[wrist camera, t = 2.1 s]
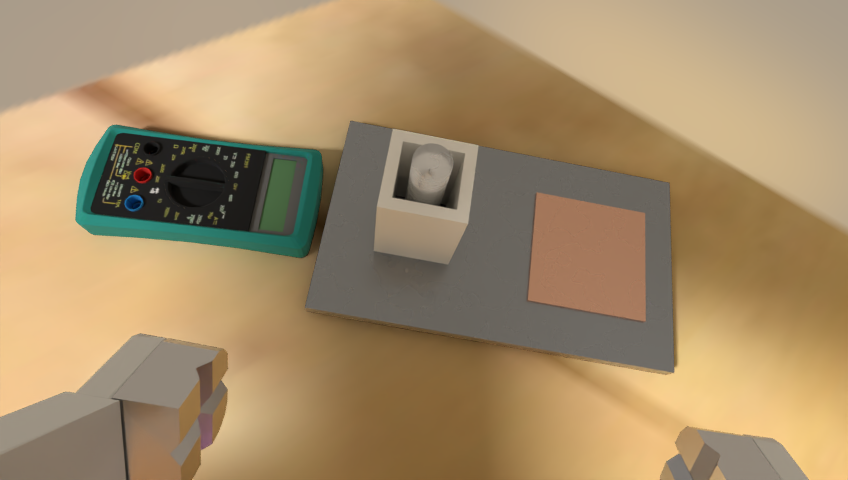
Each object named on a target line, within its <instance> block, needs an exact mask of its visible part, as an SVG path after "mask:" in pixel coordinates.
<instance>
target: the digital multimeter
mask: <svg viewBox="0 0 848 480" xmlns="http://www.w3.org/2000/svg"><path fill="white" fill-rule="evenodd" d="M322 180H323V163H322V156H321V153H320V152H319V151H317V150H313V149H301V148H288V147H275V146H263V145H252V144H243V143H234V142H225V141H216V140H207V139H201V138H194V137H188V136H181V135H175V134H168V133H162V132H155V131H150V130H144V129H138V128H133V127H127V126H121V125H112V126H110V127H109V128H108V129H107V130H106V132H105V133H104V135H103V136H102V138H101V139H100V141H99V142H98V144H97V145H96V147H95V148H94V150H93V152H92V154H91V155H90V157H89V159H88V161H87V162H86V165H85V168H84V171H83V173H82V176H81V179H80V184H79V190H78V195H77V205H76V219H75V220H76V222H77V223H78V224H79V225H81V226H82V227H83V228H84V229H86V230H87V231H88V232H89V233H91V234H93V235H105V236H121V237H137V238H149V239H161V240H172V241H184V242H194V243H202V244H210V245H218V246H226V247H234V248H241V249H248V250H254V251H260V252H267V253H273V254H279V255H285V256H292V257H298V258H302V257H305V256H306V255H308V252H309V250H310V246H311V242H312V239H313V235H314V231H315V226H316V222H317V218H318V212H319V206H320V200H321V191H322ZM165 189H166V190H165ZM108 215H109V216H108ZM117 216H118V217H117ZM125 217H127V218H125ZM134 218H135V219H134ZM152 220H153V221H152ZM160 221H162V222H160ZM169 222H170V223H169ZM178 223H179V224H178ZM187 224H188V225H187ZM196 225H197V226H196ZM204 226H205V227H204ZM213 227H214V228H213ZM222 228H223V229H222ZM231 229H232V230H231ZM239 230H240V231H239Z"/></svg>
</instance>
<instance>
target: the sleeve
mask: <svg viewBox="0 0 848 480" xmlns="http://www.w3.org/2000/svg"><path fill="white" fill-rule="evenodd" d="M429 143H434V144H439V145H441V146H443V147H445V148H446V149H447V150H448V151H449V152H450V153H451V155H452V157H453V168H452V171H451V174H450V177H449V180H448V183H447V186H446V189H445V192H444V195H443V198H442V201H441V204H444V205H446V208H445V207H440V206H435V205H429V204H424V203H419V202H413V201H408V200H403V199H397V198H395V195H397V196H402V197H405V196H406V190H407V185H408V179H409V174H410V168H411V163H412V157H413V154H414V152H415V151H416V150H417V149H418V148H419V147H420V146H422V145H424V144H429ZM478 146H479V145H475V144H470V143H465V142H460V141H455V140H450V139H444V138H439V137H434V136H429V135H424V134H419V133H414V132H408V131H403V130H398V129H393V131H392V136H391V140H390V145H389V150H388V155H387V160H386V165H385V169H384V174H383V179H382V184H381V189H380V194H379V198H378V203H377V211H376V225H375V240H374V251H376V252H382V253H387V254H393V255H398V256H404V257H409V258H415V259H420V260H426V261H431V262H436V263H442V264H447V265H448V264H449V262H450V260H451V258H452V256H453V254H454V252H455V250H456V248H457V246H458V243H459V241H460V239H461V237H462V235H463V233H464V231H465V229H466V227H467V225H468V221H469V213H470V206H471V198H472V191H473V183H474V176H475V168H476V161H477V153H478Z"/></svg>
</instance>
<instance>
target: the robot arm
mask: <svg viewBox="0 0 848 480" xmlns="http://www.w3.org/2000/svg"><path fill="white" fill-rule="evenodd" d="M227 369H228V353H227V352H226V351H225V349H222V348H217V347H212V346H207V345H201V344H196V343H191V342H185V341H180V340H175V339H170V338H169V339H166V338H163V337H157V336H151V335H146V334H137V335H134V336H132V337H131V338H130V339H129V340H128V341H127V342H126V343H125V344H124V345H123V346H122V347H121V348H120V349H119V350H118V351H117V352H116V353H115V354H114V355H113V356H112V357H111V358H110V359H109V360H108V361H107V362H106V363H105V364H104V365H103V366H102V367H101V368H100V369H99V370H98V371H97V372H96V373H95V374H94V375H93V376H92V377H91V378H90V379H89V380H88V381H87V382H86V383H85V384H84V385H83V386H82V387H81V388H80V389H79V390H78V391H77V392H76V393H71V392H63V393H61V394H58V395H56V396H53V397H51V398H48V399H46V400H43V401H40V402H38V403H35V404H33V405H30V406H28V407H25V408H23V409H20V410H17V411H15V412H12V413H10V414H7V415H5V416H2V417H0V480H192V479H193V477H194V475H195V473H196V472H197V470H198V468H199V466H200V465H201V450H202V449H204V448H206V447H208V446H209V445H211V444H212V443H213V441H214V440H215V438H216V436H217V434H218V432H219V430H220V427H221V424H222V421H223V418H224V415H225V411H226V405H227V392H228V389H227V388H226V386H225V385H224V384H223V382H222V381H221V379H222V377H223V376H224V374H225V373H226V371H227ZM675 444H676V447H677V449H678V452H679V454H678V455H676V456H674V457H673V458H671V459H670V460H668V461H666V463H665V466H664V468H663V471H662V473H661V475H660V480H809V479H808V478H807V477H806V475H805V474H804V473H803V471H802V470H801V469H800V467H799V466H798V465H797V464H796V462H795V461H794V460H793V458H792V457H791V456H790V454H789V453H788V452H787V450H786V449H785V448H784V447H783V445H782V444H780V443H779V442H777V441H776V440H774V439H773V438H766V437H758V436H751V435H739V434H733V433H726V432H720V431H714V430H708V429H702V428H695V427H689V426H687V427H685V428H684V429H683V430H682V431H681V432H680V434H679V436H678V438H677V440H676V442H675Z"/></svg>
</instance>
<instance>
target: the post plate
mask: <svg viewBox="0 0 848 480" xmlns="http://www.w3.org/2000/svg"><path fill="white" fill-rule="evenodd" d="M392 131H393V129H390V128H385V127H380V126H375V125H370V124H364V123H359V122H354V121H350V125H349V129H348V133H347V137H346V141H345V145H344V149H343V153H342V157H341V161H340V166H339V170H338V174H337V178H336V182H335V186H334V190H333V194H332V198H331V202H330V207H329V211H328V215H327V219H326V223H325V227H324V231H323V235H322V239H321V243H320V247H319V252H318V256H317V260H316V264H315V268H314V272H313V276H312V280H311V284H310V288H309V292H308V297H307V301H306V305H305V309H306V311H308V312H313V313H319V314H325V315H330V316H336V317H342V318H347V319H353V320H359V321H364V322H370V323H376V324H381V325H387V326H393V327H398V328H404V329H410V330H415V331H421V332H427V333H432V334H438V335H444V336H449V337H455V338H461V339H466V340H472V341H478V342H483V343H489V344H495V345H500V346H506V347H512V348H517V349H523V350H529V351H534V352H540V353H546V354H551V355H557V356H563V357H568V358H574V359H580V360H585V361H591V362H597V363H602V364H608V365H614V366H619V367H625V368H631V369H636V370H642V371H648V372H653V373H659V374H665V375H667V374H671V373H674V344H673V304H672V265H671V225H670V185H669V183H667V182H662V181H657V180H652V179H647V178H642V177H637V176H631V175H626V174H621V173H616V172H611V171H606V170H601V169H595V168H590V167H585V166H580V165H575V164H570V163H565V162H560V161H554V160H549V159H544V158H539V157H534V156H529V155H524V154H518V153H513V152H508V151H503V150H498V149H493V148H488V147H483V146H478V153H477V161H476V168H475V176H474V183H473V191H472V198H471V206H470V213H469V221H468V225H467V227H466V229H465V231H464V233H463V235H462V237H461V239H460V241H459V243H458V246H457V248H456V250H455V252H454V254H453V256H452V258H451V260H450V262H449V264H448V265H447V264H442V263H436V262H431V261H426V260H420V259H415V258H409V257H404V256H398V255H393V254H387V253H382V252H376V251H374V240H375V225H376V211H377V203H378V198H379V194H380V189H381V184H382V179H383V174H384V169H385V165H386V160H387V155H388V150H389V145H390V140H391V136H392ZM452 168H453V157H452V155H451V153H450V152H449V151H448V150H447V149H446V148H445V147H443V146H441V145H439V144H434V143H429V144H424V145H422V146H420V147H419V148H418V149H417V150H416V151H415V152H414V154H413V157H412V163H411V168H410V174H409V179H408V185H407V190H406V196H405V197H402V196H397V195H395V198H397V199H403V200H408V201H413V202H419V203H424V204H429V205H435V206H440V207H445V208H446V205H444V204H441V201H442V198H443V195H444V192H445V189H446V186H447V183H448V180H449V177H450V174H451V171H452Z"/></svg>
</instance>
